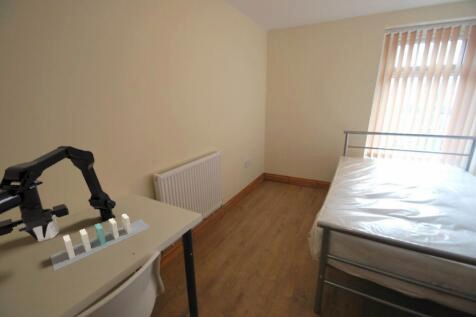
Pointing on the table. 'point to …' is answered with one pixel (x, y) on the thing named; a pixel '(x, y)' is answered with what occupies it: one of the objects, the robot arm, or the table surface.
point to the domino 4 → (113, 228)
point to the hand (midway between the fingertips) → (40, 238)
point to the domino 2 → (85, 240)
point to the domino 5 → (126, 223)
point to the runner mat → (96, 245)
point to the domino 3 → (100, 234)
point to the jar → (50, 232)
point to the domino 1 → (69, 246)
